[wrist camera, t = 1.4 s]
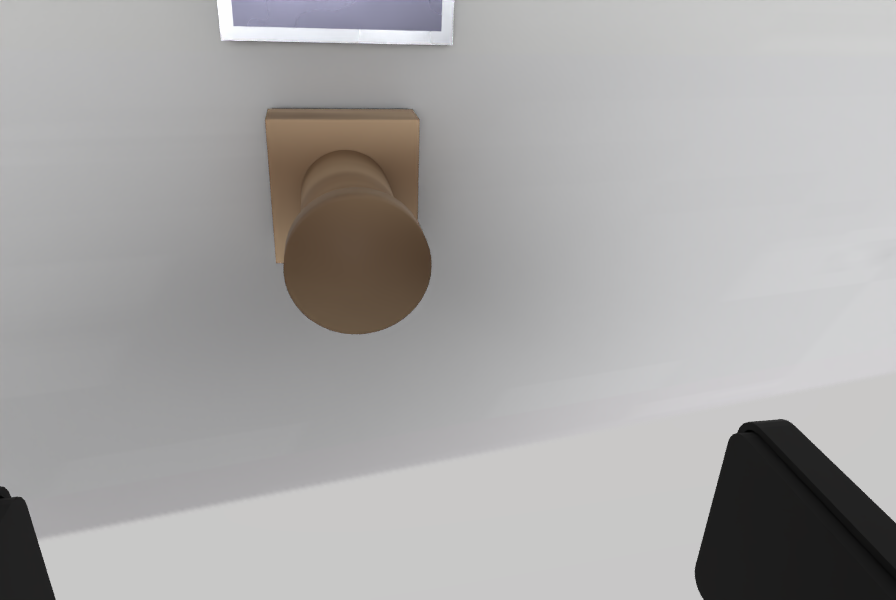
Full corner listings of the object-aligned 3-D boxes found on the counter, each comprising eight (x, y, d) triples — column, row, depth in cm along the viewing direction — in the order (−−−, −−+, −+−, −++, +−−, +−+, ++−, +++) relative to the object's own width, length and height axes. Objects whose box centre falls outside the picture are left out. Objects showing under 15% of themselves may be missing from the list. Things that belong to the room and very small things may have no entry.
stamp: (408, 235, 27) (450, 348, 19) (278, 238, 26) (266, 359, 18) (409, 106, 25) (458, 173, 17) (268, 105, 24) (250, 176, 16)
